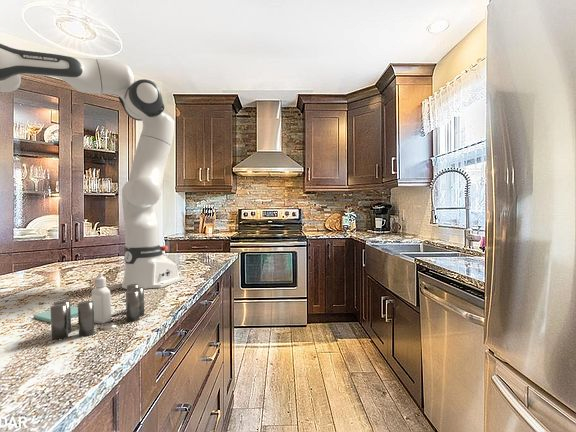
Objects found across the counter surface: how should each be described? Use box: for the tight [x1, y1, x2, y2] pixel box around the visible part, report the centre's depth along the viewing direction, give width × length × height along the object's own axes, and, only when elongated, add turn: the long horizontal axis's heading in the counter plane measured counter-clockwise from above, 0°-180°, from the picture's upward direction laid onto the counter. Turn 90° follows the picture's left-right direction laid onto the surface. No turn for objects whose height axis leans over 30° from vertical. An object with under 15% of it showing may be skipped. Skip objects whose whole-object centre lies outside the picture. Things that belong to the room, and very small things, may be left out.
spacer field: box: [49, 284, 145, 341], centre depth 82 cm, size 23×10×7 cm, turn 151°
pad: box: [33, 305, 78, 324], centre depth 90 cm, size 9×9×1 cm
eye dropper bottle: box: [90, 272, 112, 325], centre depth 84 cm, size 4×6×12 cm
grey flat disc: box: [100, 322, 119, 331], centre depth 80 cm, size 4×4×1 cm
